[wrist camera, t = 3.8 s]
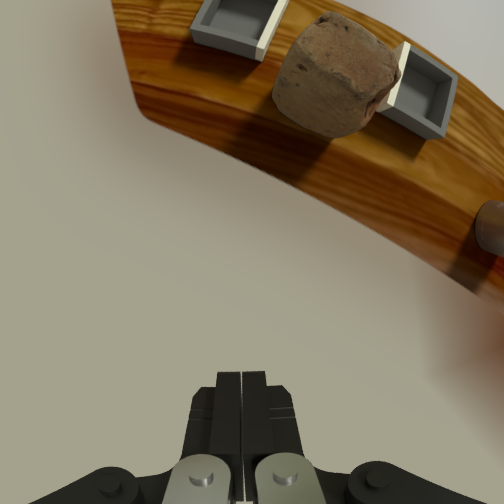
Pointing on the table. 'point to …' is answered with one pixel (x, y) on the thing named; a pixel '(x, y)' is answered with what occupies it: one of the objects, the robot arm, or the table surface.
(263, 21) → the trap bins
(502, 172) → the table surface
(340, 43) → the block
